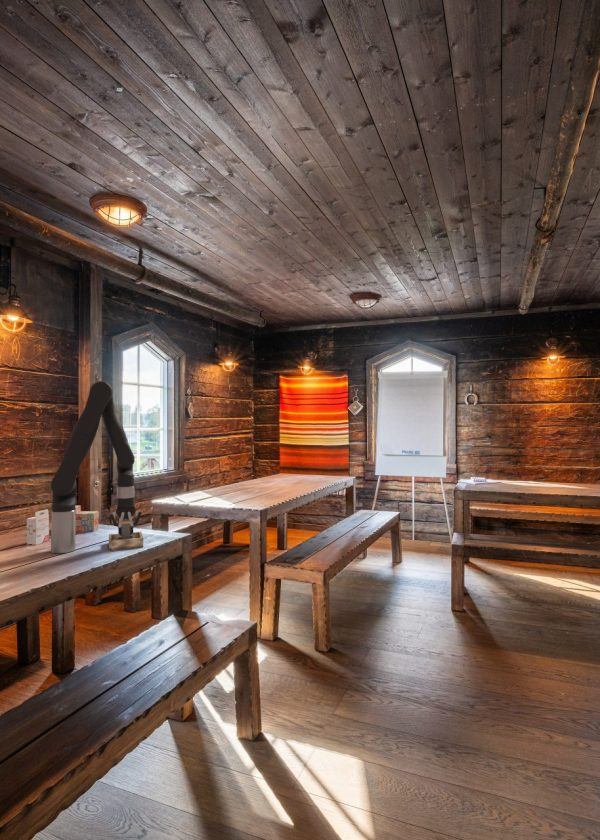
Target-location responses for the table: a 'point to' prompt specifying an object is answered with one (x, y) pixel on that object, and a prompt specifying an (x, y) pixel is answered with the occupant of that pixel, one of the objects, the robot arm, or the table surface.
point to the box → (125, 541)
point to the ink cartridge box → (38, 528)
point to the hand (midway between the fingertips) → (125, 534)
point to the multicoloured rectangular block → (86, 520)
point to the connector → (125, 529)
